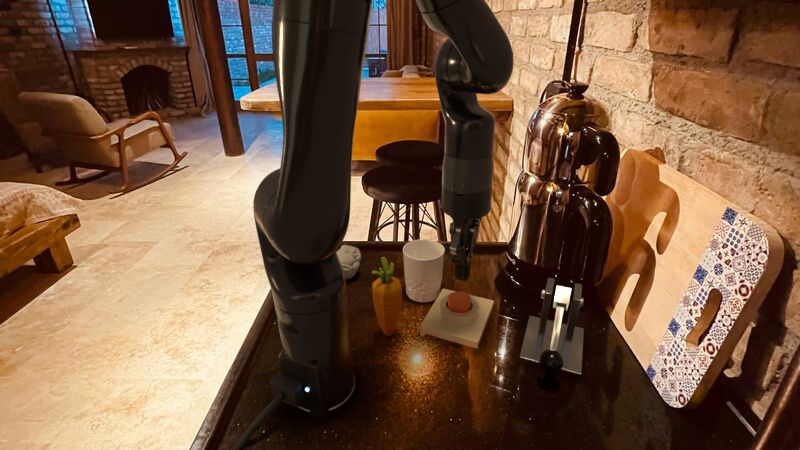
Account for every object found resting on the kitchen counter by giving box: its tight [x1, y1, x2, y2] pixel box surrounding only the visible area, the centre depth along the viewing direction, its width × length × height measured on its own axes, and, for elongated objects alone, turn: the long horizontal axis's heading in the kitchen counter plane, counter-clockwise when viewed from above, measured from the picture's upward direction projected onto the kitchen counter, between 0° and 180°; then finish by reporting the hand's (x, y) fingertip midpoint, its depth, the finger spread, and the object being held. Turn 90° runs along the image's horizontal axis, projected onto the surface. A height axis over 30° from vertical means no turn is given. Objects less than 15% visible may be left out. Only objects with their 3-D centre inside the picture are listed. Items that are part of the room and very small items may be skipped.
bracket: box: [518, 277, 585, 376], centre depth 64 cm, size 11×9×12 cm
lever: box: [539, 284, 573, 374], centre depth 60 cm, size 13×3×3 cm
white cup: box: [402, 238, 446, 304], centre depth 79 cm, size 8×8×10 cm
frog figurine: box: [336, 244, 362, 280], centre depth 85 cm, size 6×7×7 cm
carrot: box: [371, 256, 403, 337], centre depth 67 cm, size 5×5×15 cm
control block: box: [419, 288, 495, 349], centre depth 72 cm, size 12×10×4 cm
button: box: [448, 291, 471, 313], centre depth 71 cm, size 4×4×2 cm
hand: (462, 277), depth 69 cm, fingers closed
